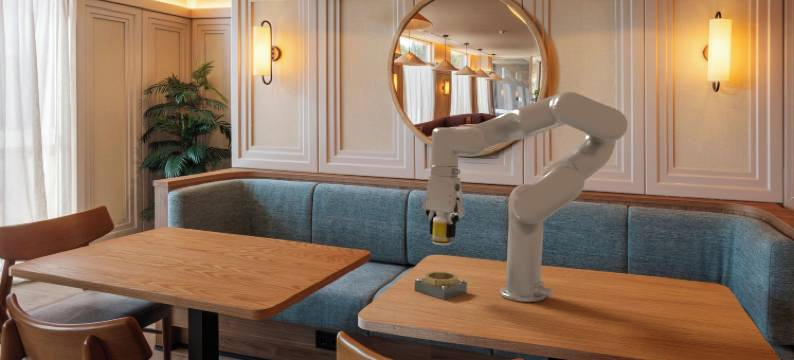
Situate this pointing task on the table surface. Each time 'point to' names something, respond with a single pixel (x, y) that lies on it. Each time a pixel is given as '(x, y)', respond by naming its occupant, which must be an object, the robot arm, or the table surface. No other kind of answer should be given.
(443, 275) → the octagonal bottle holder
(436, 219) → the supplement bottle
